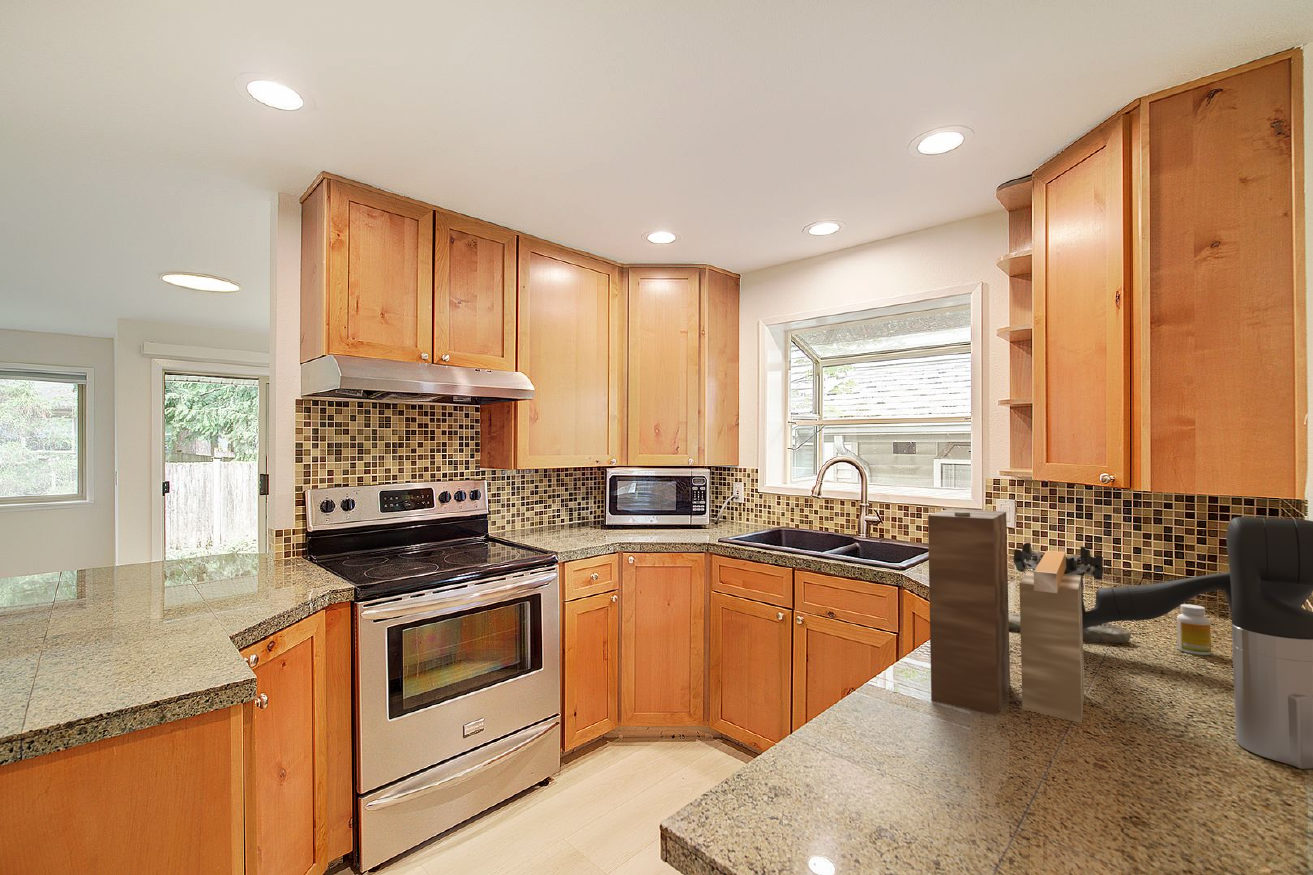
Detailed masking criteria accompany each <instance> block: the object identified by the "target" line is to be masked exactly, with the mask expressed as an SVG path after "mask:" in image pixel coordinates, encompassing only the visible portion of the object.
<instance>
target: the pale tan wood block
mask: <svg viewBox="0 0 1313 875" xmlns="http://www.w3.org/2000/svg"><path fill="white" fill-rule="evenodd" d="M1066 557H1067V553H1066V551H1059V550H1058V551H1057V550H1056V551H1055V550H1046V551H1045V553H1044V556H1043V557H1042V559H1041V558H1040V559H1041V561H1040V562H1039V564H1038V565H1037V567H1036V569H1035V570H1033V571H1034V591H1042V592H1051V593H1057V592H1058V589H1059V586H1060V583H1061V580H1062V578H1063V575H1064V572H1065V569H1066Z"/></svg>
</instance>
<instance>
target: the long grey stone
mask: <svg viewBox="0 0 1313 875" xmlns="http://www.w3.org/2000/svg"><path fill="white" fill-rule="evenodd" d="M1009 629H1010V630H1009V631H1013V630H1014V631H1013V632H1018V631H1019V632H1018V633H1021V627H1020V613H1013V612H1011V613H1009ZM1130 640H1131V634H1130V631H1129V630H1127V629H1125V628H1122V627H1118V626H1116V625H1115V624H1113V625H1112V624H1110V622H1108V623H1103V624H1099V625H1095V626H1092V627H1089V628H1086V629H1083V642H1090V643H1098V644H1100V643H1101V642H1103V643H1111V644H1113V643H1124V644H1125V643H1126V644H1128V643H1129V642H1130Z"/></svg>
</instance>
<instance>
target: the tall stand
mask: <svg viewBox="0 0 1313 875" xmlns="http://www.w3.org/2000/svg"><path fill="white" fill-rule="evenodd" d="M1007 524H1008V522H1007V511H1005V510H1003V511H1002V510H1001V511H1000V510H999V511H997V510H981V509H979V510H977V509H958V508H957V509H956V508H946V509H943V510H940V511H937V512H934V513H931V514H928V515H927V529H928V530H927V532H928V534H927V537H928V541H927V542H928V582H929V583H928V588H929V589H928V593H929V635H930V636H929V638H930V639H929V641H930V642H929V643H930V644H929V645H930V647H929V650H930V653H929V654H930V692H931V693H930V696H931V698H930V700H931V701H932V702H936V703H940V704H941V703H942V704H946V705H950V706H954V707H958V708H963V709H967V710H972V711H976V712H980V713H984V714H988V715H993V716H999V712H1000V711H1001V708H1002V706H1003V704H1004V701H1005V698H1006V697H1007V694H1008V692H1009V689H1010V687H1011V665H1010V664H1011V662H1010V660H1011V659H1010V658H1011V657H1010V630H1009V612H1010V611H1009V609H1010V608H1009V576H1008V575H1009V572H1008V571H1009V570H1008V567H1009V566H1008V532H1007V531H1008V530H1007V528H1008V527H1007V526H1008V525H1007Z"/></svg>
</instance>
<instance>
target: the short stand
mask: <svg viewBox="0 0 1313 875" xmlns="http://www.w3.org/2000/svg"><path fill="white" fill-rule="evenodd" d="M1027 570H1028V571H1026V573H1025V574H1024V576H1023V577H1022V579H1021V580H1020V582H1019V611H1020V612H1019V614H1020V627H1021V632H1020V659H1021V660H1020V664H1021V665H1020V666H1021V667H1020V668H1021V669H1020V670H1021V702H1022V703H1021V704H1022V711H1025V710H1027V711H1026V712H1029V711H1031V713H1034V712H1036V713H1035V714H1038V713H1040V714H1039V715H1043V714H1044V715H1043V716H1047V715H1049V716H1048V717H1052V716H1054V717H1053V718H1056V717H1057V718H1058V719H1061V720H1065V719H1067V720H1066V721H1070V722H1075V723H1080V724H1082V723H1083V722H1082V721H1083V712H1084V700H1085V677H1084V676H1085V673H1084V672H1085V671H1084V670H1085V669H1084V666H1085V665H1084V640H1083V626H1082V590H1081V575H1071V574H1064V575H1063V578H1062V580H1061V583H1060V586H1059V589H1058V592H1057V593H1051V592H1042V591H1034V570H1031V569H1027Z"/></svg>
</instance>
